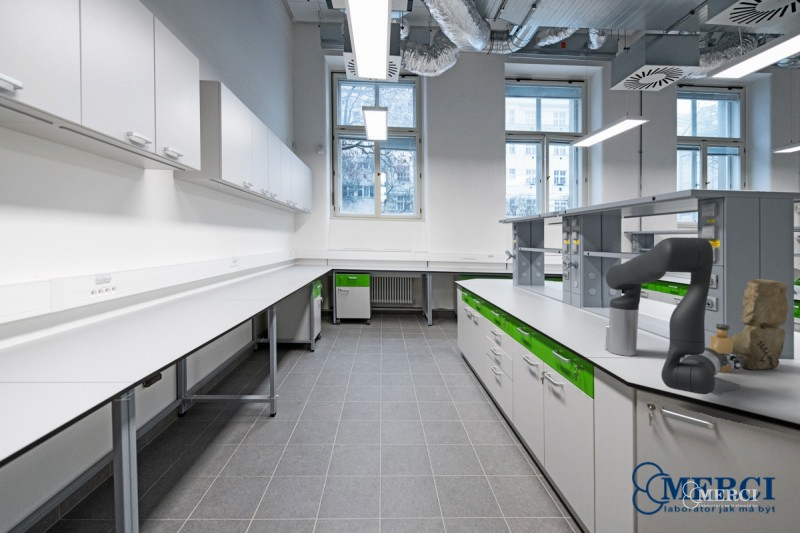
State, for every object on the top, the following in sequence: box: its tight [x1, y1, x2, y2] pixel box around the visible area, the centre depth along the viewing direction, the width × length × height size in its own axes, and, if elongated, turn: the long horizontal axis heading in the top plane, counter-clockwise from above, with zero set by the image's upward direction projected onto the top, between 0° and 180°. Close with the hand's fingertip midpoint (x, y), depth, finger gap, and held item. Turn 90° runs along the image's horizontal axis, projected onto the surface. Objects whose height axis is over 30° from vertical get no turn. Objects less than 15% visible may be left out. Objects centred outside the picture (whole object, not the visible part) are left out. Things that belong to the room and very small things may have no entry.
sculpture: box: [731, 278, 789, 371], centre depth 118 cm, size 12×9×30 cm
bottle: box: [709, 323, 733, 374], centre depth 116 cm, size 6×6×15 cm
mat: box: [710, 376, 741, 396], centre depth 104 cm, size 10×12×1 cm
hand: (714, 351), depth 110 cm, fingers open, 8 cm apart
